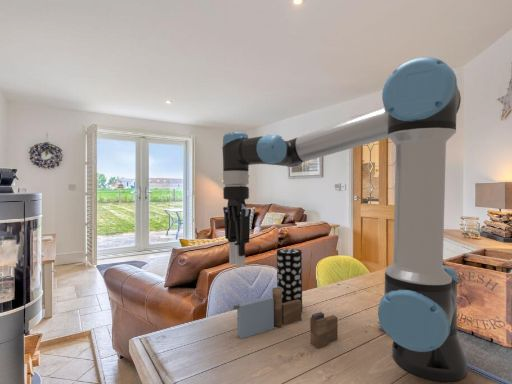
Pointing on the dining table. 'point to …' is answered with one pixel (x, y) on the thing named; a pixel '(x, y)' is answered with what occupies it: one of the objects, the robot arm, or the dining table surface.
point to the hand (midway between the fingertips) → (237, 264)
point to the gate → (255, 316)
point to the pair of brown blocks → (291, 312)
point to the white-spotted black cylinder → (289, 274)
